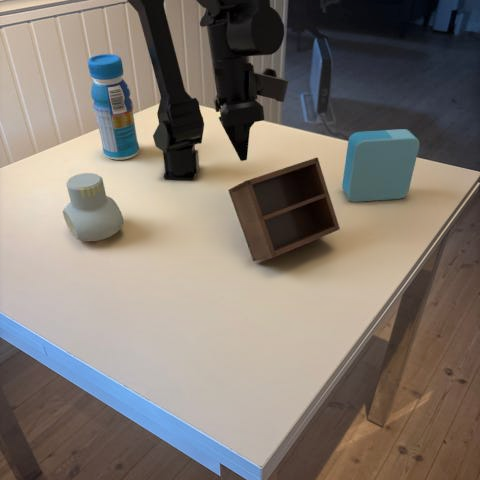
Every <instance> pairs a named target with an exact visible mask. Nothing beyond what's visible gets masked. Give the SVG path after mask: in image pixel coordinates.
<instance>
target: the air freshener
mask: <svg viewBox="0 0 480 480" xmlns="http://www.w3.org/2000/svg"><path fill="white" fill-rule="evenodd" d="M65 184H66V189H67V193H68V197H69V201H70V202H68V203H67V205H66V206H65V207H64V208H63V210H62V215H63V219H64V221H65V224H66V226H67V228H68V229H69V232H70V233H71V234H72V236H73V237H74V239H76V240H79V241H82V242H97V241H102V240H106V239H108V238H111V237H112V236H114V235H115V234H116V233H118V232H119V231H120V230H121V228H122V227H123V226H124V224H125V223H124V222H125V220H124V216H123V214H122V211H121V209H120V207H119V206H118V204H117V203H116V201H115V200H114V199H113V198H112V197H110V196H108V195H107V194H106V188H105V183H104V179H103V177H101V176H100V175H99V174H97V173H95V172H93V173H92V172H82V173H78V174H75V175H73V176H71V177H70V178H68V180H67V181H66V183H65Z"/></svg>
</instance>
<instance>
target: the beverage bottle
mask: <svg viewBox="0 0 480 480" xmlns="http://www.w3.org/2000/svg"><path fill="white" fill-rule="evenodd" d="M87 65H88V70H89V75H90V77H91V79H92V80H93V82H92V85H91V88H90V97H91V99H92V100H93V104H92V108H93V109H92V110H93V113H94V114H95V117H96V121H97V126H98V131H99V135H100V140H101V144H102V145H101V146H102V151H103V154H104V156H105V157H106V158H108V159H110V160H115V161H123V160H129V159H132V158H134V157H135V156H137V155H138V154H139V152H140V145H139V141H138V135H137V129H136V123H135V115H134V104H133V100H132V99H131V98H130V97H131V90H130V87H129V86H128V84H127V82H126V81H125V80H124V78H122V77H123V76H124V66H123V60H122V58H121V57H120V56H119V55H117V54H112V53H102V54H97V55H93V56H91V57H90V58H88V60H87Z"/></svg>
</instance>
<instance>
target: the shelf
mask: <svg viewBox="0 0 480 480" xmlns="http://www.w3.org/2000/svg"><path fill="white" fill-rule="evenodd" d="M227 190H228V194H229V197H230V199H231V202H232V205H233V208H234V211H235V213H236V216H237V219H238V222H239V226H240V227H241V230H242V233H243V237H244V240H245V242H246V244H247V247H248V248H247V249H248V250H249V253H250V256H251V258H252V261H253V262H258V261H264V260H269V259H274V258H277V257H278V256H280V255H283V254H285V253H288V252H290V251H293V250H295V249H298V248H300V247H302V246H304V245H306V244H309V243H312V242H314V241H316V240H318V239H321V238H323V237H325V236H327V235H330V234H333V233H335V232H337V231H339V230H341V228H340V225H339V221H338V218H337V215H336V212H335V209H334V206H333V202H332V200H331V195H330V193H329V190H328V186H327V183H326V180H325V176H324V174H323V169H322V167H321V164H320V160H319V157H314V158H310V159H307V160H304V161H301V162H299V163H295V164H293V165H291V166H286V167H284V168H281V169H278V170H274V171H271V172H269V173H266V174H263V175H262V174H261V175H259V176H256V177H253V178H251V179H247V180H244V181H242V182H240V183H238V184H237V185H234V186H233V187H231V188H229V189H227Z"/></svg>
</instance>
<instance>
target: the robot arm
mask: <svg viewBox="0 0 480 480" xmlns="http://www.w3.org/2000/svg"><path fill="white" fill-rule="evenodd" d="M126 1H127V2H128V3H129V4H130V5H131V6H132V8H133V9H134V10H135V11H136V12H137V15H138V19H139V22H140V25H141V29H142V33H143V35H144V36H143V37H144V39H145V43H146V48H147V51H148V55H149V58H150V63H151V65H152V69H153V73H154V77H155V80H156V85H157V88H158V91H159V95H160V96H159V97H160V100H159V105H158V108H157V114H156V116H157V121H158V125H157V127H156V129H155V131H154V132H153V134H152V138H153V142H154V145H155V147H156V148H157V149H159V150H160V151H162V155H163V157H162V158H163V165H164V173H163V179H164V180H179V181H180V180H181V181H193V180H194V179H195V177H196V176H197V174H198V173H199V170H200V159H199V150H198V149H196V145H200V144H202V142H203V135H204V130H205V122H204V121H205V120H204V117H203V115H202V112H201V108H200V101H199V100H198V98H197V97H192V96H191V95H190V94H189V93H188V92H187V90H186V88H185V84H184V81H183V76H182V72H181V68H180V65H179V61H178V55H177V52H176V49H175V45H174V40H173V37H172V32H171V29H170V24H169V21H168V17H167V12H166V8H165V0H126ZM195 1H196V2H197V3H198V4H199V6H201V7H202V8H204V9H205V12H204V14H203V16H202V17H201V19H200V21H199V26H200V27H201V28H204V27H206V31H207V39H208V45H209V50H210V58H211V64H212V67H211V69H212V74H213V78H214V83H215V85H214V86H215V90H216V91H215V92H216V94H215V96H214V98H213V105H214V110H215V112H216V113H219V115H220V116H218V120H219V122H220V124H221V126H222V128H223V130H224V132H225V134H226V135H227V137H228V139H229V141H230V143H231V145H232V147H233V149H234V151H235V153H236V155H237V157H238V159H239V160H240V162H244V161H247V160H248V153H249V141H250V132H251V128H252V127H253V125H254V124H255V123H258V122H262V121H265V111H264V106H263V105H262V104H261V103H260V102H259V101H258V96H260V97H262V98H263V97H264V98H269V99H272V100H275V101H276V102H280V103H284V102H285V98H286V94H287V90H288V87H289V80H288V79H285V78H282V77H278V76H277V72H276V71H277V70H276V69H273V68H269V67H265V68H264V69H263V70H262V71H261V72H257V71H255V68H254V64H253V63H252V62H250V57H258V56H259V57H260V56H270V55H273V54H275V53H276V52H277V51H279V50H280V48H281V46H282V44H283V42H284V38H285V23H284V22H283V20H282V17H281V16H280V14H279V12H278V11H277V10H276V9H275V8H273V7H271V0H195Z"/></svg>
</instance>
